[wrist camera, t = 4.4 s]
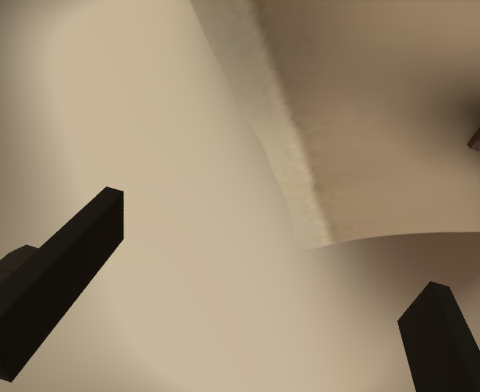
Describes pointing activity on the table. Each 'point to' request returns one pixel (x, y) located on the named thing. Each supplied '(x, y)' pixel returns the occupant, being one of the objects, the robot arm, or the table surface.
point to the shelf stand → (475, 141)
